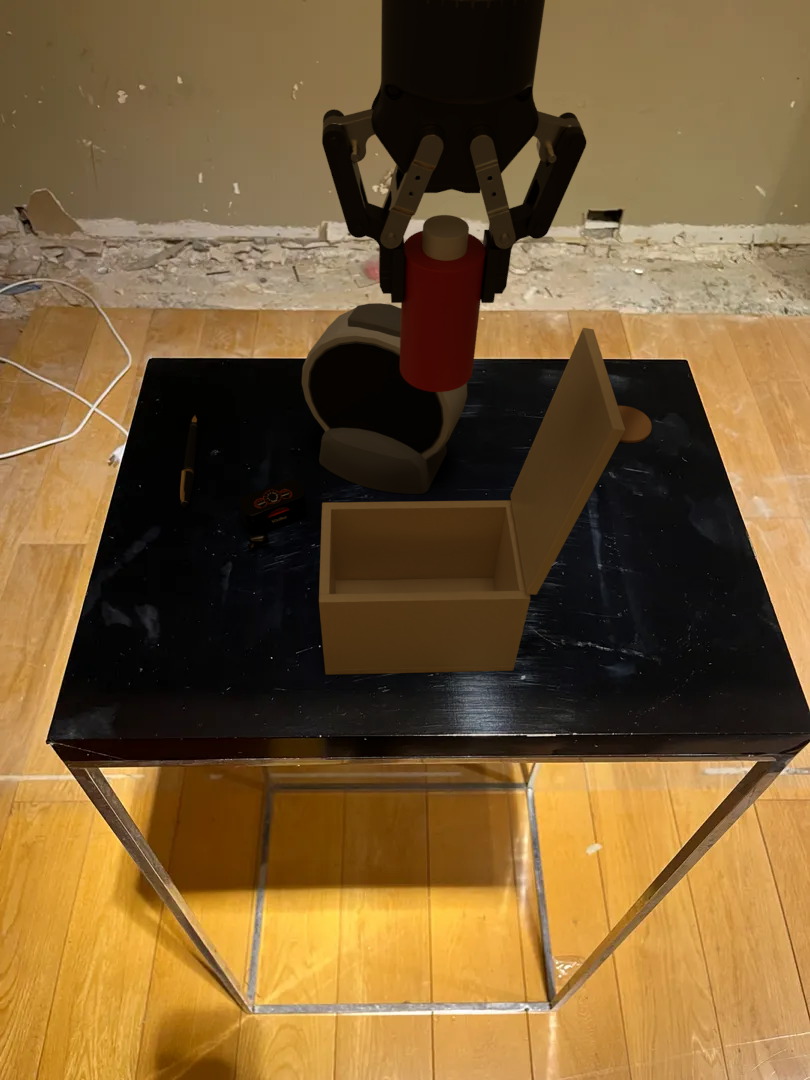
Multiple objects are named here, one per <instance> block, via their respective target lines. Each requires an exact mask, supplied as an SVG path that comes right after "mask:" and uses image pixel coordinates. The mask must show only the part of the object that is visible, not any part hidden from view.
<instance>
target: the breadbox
mask: <svg viewBox="0 0 810 1080" xmlns="http://www.w3.org/2000/svg"><path fill="white" fill-rule="evenodd" d="M320 524H321V526H320V527H321V528H320V556H319V557H320V559H319V586H318V588H319V589H318V606H319V618H320V619H319V620H320V629H321V640H322V641H321V643H322V652H323V663H324V674H325V675H326V676H328V675H329V676H330V675H372V674H373V675H374V674H375V675H377V674H379V675H381V674H411V673H412V674H419V673H421V674H423V673H425V674H426V673H466V672H467V673H469V672H470V673H471V672H503V671H504V672H511V671H512V672H513V671H514V669H515V665H516V660H517V657H518V653H519V648H520V644H521V640H522V636H523V632H524V628H525V624H526V619H527V617H528V616H527V615H528V610H529V607H530V603H531V598H532V597H531V594H527V591H526V585H525V579H524V573H523V568H522V562H521V556H520V550H519V544H518V538H517V532H516V526H515V520H514V515H513V509H512V503H511V499H509V500H508V499H506V500H433V501H431V500H429V501H428V500H427V501H426V500H425V501H423V500H422V501H421V500H420V501H349V502H348V501H344V502H343V501H342V502H339V501H338V502H321V523H320Z"/></svg>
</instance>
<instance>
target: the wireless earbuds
mask: <svg viewBox="0 0 810 1080" xmlns="http://www.w3.org/2000/svg"><path fill="white" fill-rule="evenodd" d="M238 506H239V511H240V517H241V522H242V523H243V525H244V526H245V529H246V530H247V532H248V533H249V537H248V542H249V543H248V544H247V547H248V549H249V551H250V552H253V551H254V550H256V549H257V547H256V546H263V545H266V544H267V543H268V542H269V541H270V537H269V534H268V533H266V531H269V530H272V529H274V528H277V527H279V526H282V525H285V524H287V523H290V522H292V521H295V520H298V519H300V518H303V517H304V516H306V514H307V511H308V510H307V508H308V507H307V497H306V490H305V489H304V488H303V486H302V485H301V484H300V482H299V480H298V479H295V478H290V479H287V480H285V481H282V482H279V483H276V484H273V485H272V486H268V487H265V488H263V489H260V490H257V491H254V492H251V493H249V494H246V495H244V496H241V497H240V498H239V499H238Z"/></svg>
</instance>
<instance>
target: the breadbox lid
mask: <svg viewBox="0 0 810 1080" xmlns="http://www.w3.org/2000/svg"><path fill="white" fill-rule="evenodd" d="M554 391H555V392H554V393H553V396H552V398H551V401H550V403H549V405H548V408H547V410H546V412H545V415H544V417H543V419H542V422H541V424H540V426H539V428H538V430H537V433H536V435H535V438H534V441H533V442H532V445H531V446H530V449H529V451H528V454H527V456H526V457H525V461H524V463H523V465H522V467H521V470H520V472H519V475H518V477H517V479H516V481H515V483H514V486H513V488H512V491H511V492H510V495H509V496H510V500H511V503H512V509H513V515H514V520H515V526H516V532H517V538H518V544H519V550H520V556H521V562H522V568H523V573H524V579H525V585H526V591H527V594H530V595H535V596H537V595H538V593H539V591H540V590H541V588H542V586H543V584H544V582H545V580H546V578H547V577H548V575H549V573H550V571H551V569H552V567H553V565H554V564H555V561H556V560H557V558H558V556H559V554H560V552H561V550H562V549H563V547H564V545H565V544H566V541H567V539H568V537H570V536H569V535H570V534H571V532H572V530H573V528H574V526H575V524H576V522H577V520H578V519H579V517H580V516H581V513H582V512H583V509H584V508H585V506H586V504H587V502H588V500H589V499H590V497H591V494H592V492H593V491H594V489H595V487H596V485H597V483H598V482H599V481H600V478H601V476H602V474H603V472H604V471H605V469H606V468H607V467H606V466H607V465H608V463H609V461H610V459H611V458H612V456H613V454H614V452H615V450H616V448H617V446H618V445H619V444H620V442H619V441H620V439H621V437H622V435H623V433H624V431H625V427H624V424H623V421H622V418H621V415H620V411H619V408H618V406H619V404H618V402H617V399H616V396H615V393H614V390H613V386H612V383H611V380H610V377H609V374H608V371H607V367H606V364H605V361H604V358H603V355H602V351H601V349H600V345H599V342H598V339H597V336H596V332H595V330H594V329H593V328H589V327H588V328H587V327H583V328H582V329H581V331H580V333H579V335H578V338H577V341H576V343H575V345H574V348H573V350H572V352H571V353H570V357H569V359H568V361H567V364H566V366H565V369H564V370H563V373H562V375H561V378H560V380H559V382H558V384H557V386H556V389H555V390H554Z"/></svg>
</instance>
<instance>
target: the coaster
mask: <svg viewBox="0 0 810 1080" xmlns="http://www.w3.org/2000/svg"><path fill="white" fill-rule="evenodd" d="M618 408H619V411H620V415H621V418H622V421H623V424H624V427H625V431H624V433H623V435H622V437H621V439H620V441H619V443H624V444H636V443H640V442H643V441H645V440H646V439H647V438H648V437H649V436H650V435H651V433H652V429H653V425H652V422H651V419H650V418H649V416H647V415H646V414H645V413H644V412H643V411H641V410H639V409H637V408H635V407H632V406H627V405H618Z"/></svg>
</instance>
